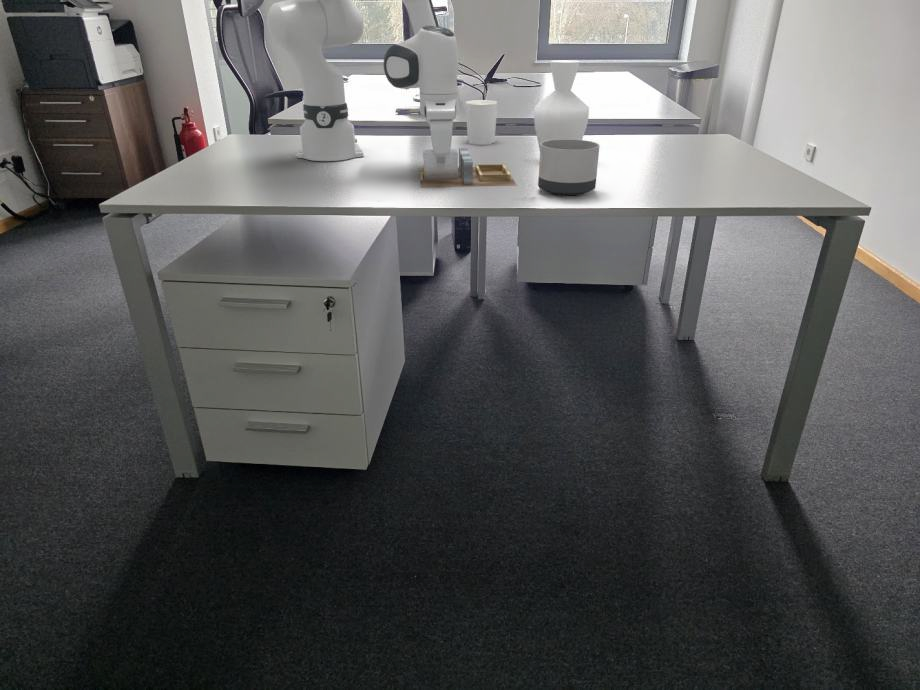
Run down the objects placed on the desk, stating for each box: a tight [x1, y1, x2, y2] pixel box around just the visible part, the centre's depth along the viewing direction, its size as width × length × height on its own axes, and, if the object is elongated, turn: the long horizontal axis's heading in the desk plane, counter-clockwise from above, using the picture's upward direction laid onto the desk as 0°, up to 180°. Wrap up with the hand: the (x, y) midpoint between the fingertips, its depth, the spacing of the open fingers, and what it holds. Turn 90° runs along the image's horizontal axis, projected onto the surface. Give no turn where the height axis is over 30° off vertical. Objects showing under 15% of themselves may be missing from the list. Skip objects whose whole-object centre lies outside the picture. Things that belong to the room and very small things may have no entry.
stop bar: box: [422, 148, 459, 179], centre depth 146 cm, size 4×8×6 cm, turn 94°
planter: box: [537, 139, 601, 198], centre depth 137 cm, size 13×13×10 cm
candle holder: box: [465, 99, 499, 146], centre depth 190 cm, size 10×10×12 cm
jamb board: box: [419, 147, 518, 188], centre depth 147 cm, size 20×22×6 cm
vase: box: [533, 59, 590, 151], centre depth 162 cm, size 14×14×25 cm
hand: (440, 167), depth 147 cm, fingers closed on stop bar, 4 cm apart
